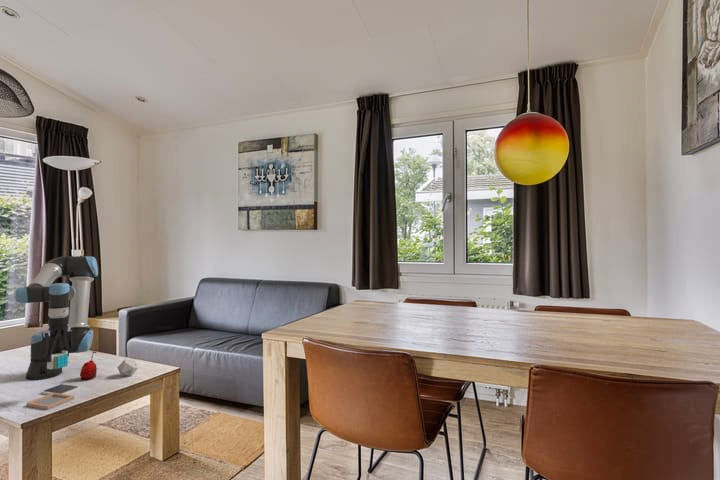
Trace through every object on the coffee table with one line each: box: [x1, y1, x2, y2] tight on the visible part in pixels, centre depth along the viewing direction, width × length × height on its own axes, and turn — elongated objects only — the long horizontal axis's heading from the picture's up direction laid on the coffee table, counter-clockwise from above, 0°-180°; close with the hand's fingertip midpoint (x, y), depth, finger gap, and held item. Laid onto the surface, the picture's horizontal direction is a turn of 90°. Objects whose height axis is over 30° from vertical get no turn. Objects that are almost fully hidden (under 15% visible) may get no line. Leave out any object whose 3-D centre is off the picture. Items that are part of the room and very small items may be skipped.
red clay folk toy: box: [79, 349, 98, 381], centre depth 205 cm, size 8×7×15 cm
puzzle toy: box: [53, 353, 69, 369], centre depth 182 cm, size 6×6×6 cm
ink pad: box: [40, 383, 82, 396], centre depth 187 cm, size 12×10×1 cm
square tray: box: [26, 393, 75, 411], centre depth 175 cm, size 12×12×1 cm
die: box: [117, 358, 139, 377], centre depth 211 cm, size 8×9×10 cm
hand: (57, 366), depth 181 cm, fingers closed on puzzle toy, 6 cm apart
